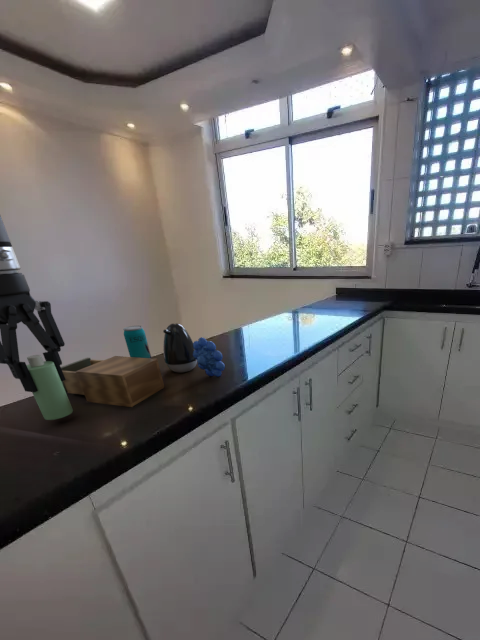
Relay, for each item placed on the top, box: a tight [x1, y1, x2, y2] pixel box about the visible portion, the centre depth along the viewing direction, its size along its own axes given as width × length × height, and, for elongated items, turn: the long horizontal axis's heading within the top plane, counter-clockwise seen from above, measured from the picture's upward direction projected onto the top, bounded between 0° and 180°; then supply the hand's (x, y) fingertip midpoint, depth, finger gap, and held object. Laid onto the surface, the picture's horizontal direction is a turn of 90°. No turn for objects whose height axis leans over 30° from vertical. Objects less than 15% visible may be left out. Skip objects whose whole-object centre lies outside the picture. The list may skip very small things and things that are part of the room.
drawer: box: [60, 357, 103, 396], centre depth 87 cm, size 18×11×7 cm, turn 73°
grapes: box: [193, 337, 226, 378], centre depth 92 cm, size 12×7×12 cm, turn 61°
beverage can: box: [123, 325, 153, 359], centre depth 96 cm, size 6×6×15 cm
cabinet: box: [76, 355, 165, 408], centre depth 83 cm, size 15×13×9 cm
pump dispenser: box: [162, 322, 198, 374], centre depth 98 cm, size 10×10×15 cm
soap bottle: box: [26, 354, 74, 421], centre depth 69 cm, size 6×6×14 cm
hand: (46, 385), depth 69 cm, fingers closed on soap bottle, 6 cm apart
